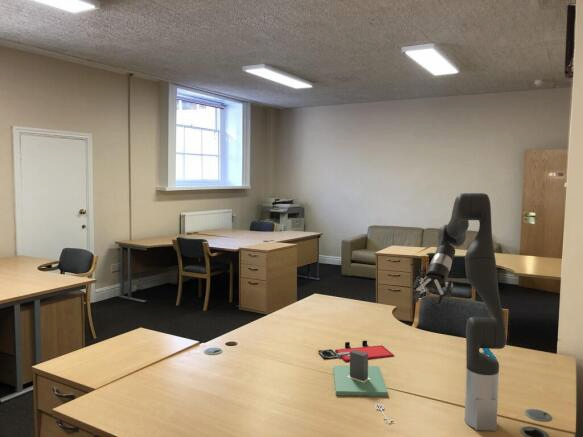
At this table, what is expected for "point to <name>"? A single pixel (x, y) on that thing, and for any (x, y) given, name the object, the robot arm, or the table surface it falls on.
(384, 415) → the key
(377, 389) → the header board
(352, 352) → the block
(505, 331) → the robot arm
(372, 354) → the red board with handle
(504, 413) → the table surface
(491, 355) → the gear
